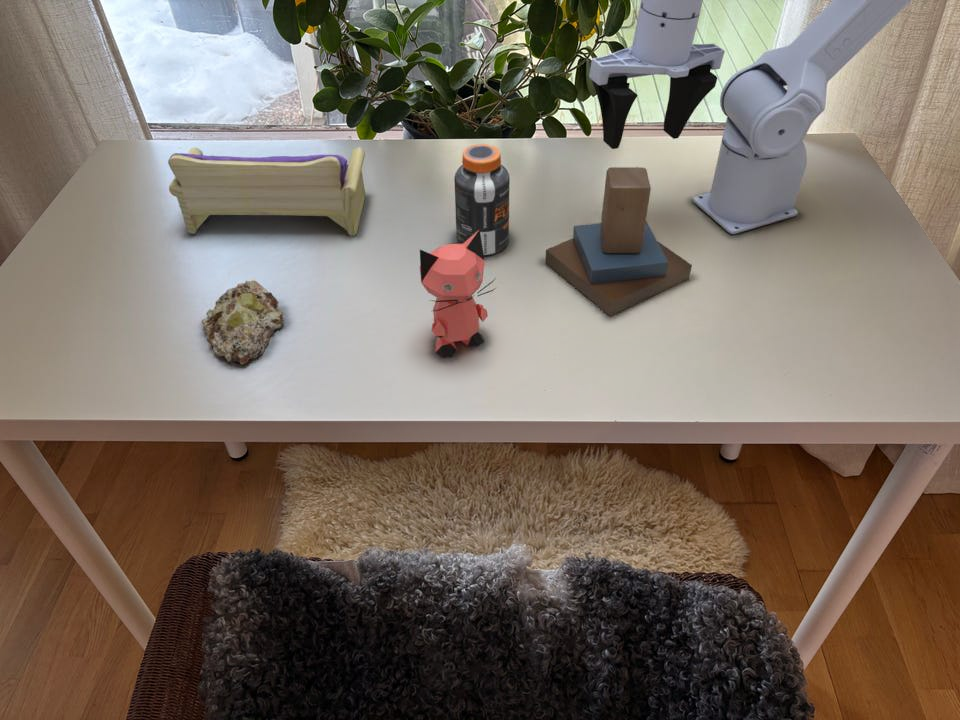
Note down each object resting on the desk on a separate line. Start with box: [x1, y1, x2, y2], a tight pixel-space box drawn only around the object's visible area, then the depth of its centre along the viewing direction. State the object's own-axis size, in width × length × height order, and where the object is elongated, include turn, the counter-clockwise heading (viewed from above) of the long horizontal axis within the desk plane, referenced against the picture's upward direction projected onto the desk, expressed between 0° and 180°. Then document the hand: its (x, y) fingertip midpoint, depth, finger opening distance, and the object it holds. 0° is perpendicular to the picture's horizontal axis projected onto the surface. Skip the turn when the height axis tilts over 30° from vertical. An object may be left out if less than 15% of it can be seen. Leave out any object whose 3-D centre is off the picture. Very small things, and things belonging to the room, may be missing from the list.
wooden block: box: [600, 166, 652, 253], centre depth 79 cm, size 4×4×8 cm
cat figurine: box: [419, 230, 498, 359], centre depth 72 cm, size 7×7×12 cm
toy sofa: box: [167, 146, 366, 237], centre depth 89 cm, size 21×9×10 cm, turn 88°
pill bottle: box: [453, 143, 511, 256], centre depth 84 cm, size 6×6×11 cm
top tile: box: [572, 220, 668, 284], centre depth 82 cm, size 8×8×2 cm
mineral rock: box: [201, 280, 285, 366], centre depth 77 cm, size 11×4×8 cm
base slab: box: [544, 237, 693, 317], centre depth 83 cm, size 11×11×2 cm
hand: (641, 139), depth 83 cm, fingers open, 7 cm apart
